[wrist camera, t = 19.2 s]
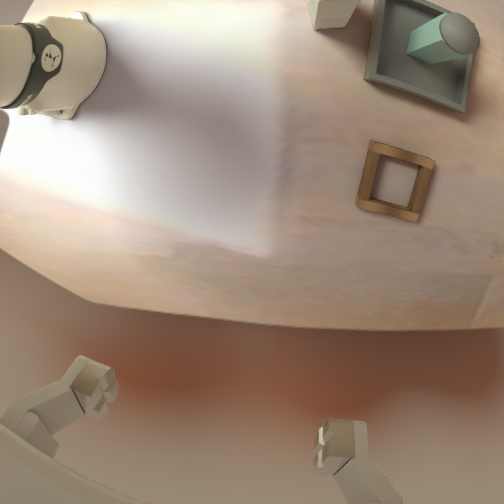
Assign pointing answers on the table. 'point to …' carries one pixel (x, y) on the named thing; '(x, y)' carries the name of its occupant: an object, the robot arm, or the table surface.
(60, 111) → the robot arm
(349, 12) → the skincare box
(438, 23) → the pin
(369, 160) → the walnut collar
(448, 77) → the charcoal tray
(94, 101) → the table surface
